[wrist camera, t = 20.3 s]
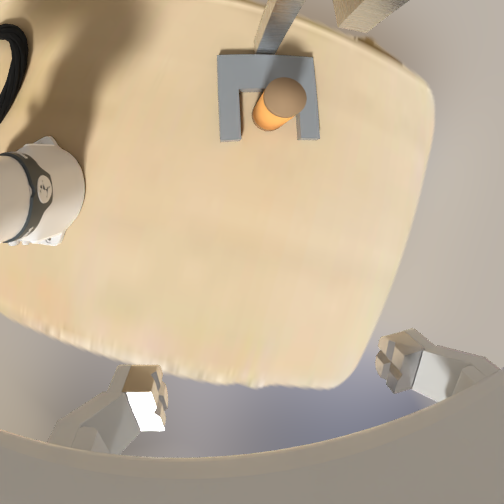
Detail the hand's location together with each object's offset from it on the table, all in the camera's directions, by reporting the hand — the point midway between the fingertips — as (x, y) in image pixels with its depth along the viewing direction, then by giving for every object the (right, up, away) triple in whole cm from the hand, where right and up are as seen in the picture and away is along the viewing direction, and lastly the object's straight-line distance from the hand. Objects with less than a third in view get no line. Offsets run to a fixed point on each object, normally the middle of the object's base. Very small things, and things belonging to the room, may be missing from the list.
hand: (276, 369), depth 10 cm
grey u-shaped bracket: (+1, +28, +32) cm, 42 cm away
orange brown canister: (+2, +25, +32) cm, 41 cm away
